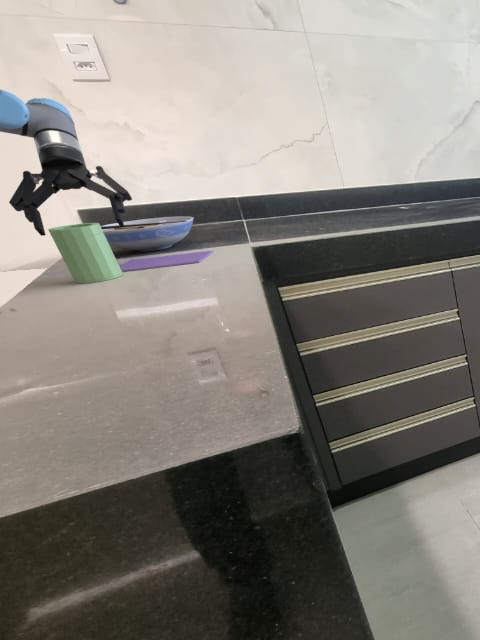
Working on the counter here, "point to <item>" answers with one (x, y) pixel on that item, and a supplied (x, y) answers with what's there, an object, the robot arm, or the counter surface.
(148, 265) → the towel
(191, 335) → the counter surface
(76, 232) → the green faceted cylinder
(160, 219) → the ramen bowl
